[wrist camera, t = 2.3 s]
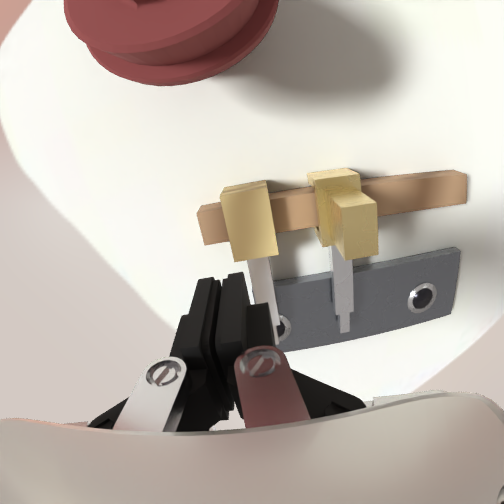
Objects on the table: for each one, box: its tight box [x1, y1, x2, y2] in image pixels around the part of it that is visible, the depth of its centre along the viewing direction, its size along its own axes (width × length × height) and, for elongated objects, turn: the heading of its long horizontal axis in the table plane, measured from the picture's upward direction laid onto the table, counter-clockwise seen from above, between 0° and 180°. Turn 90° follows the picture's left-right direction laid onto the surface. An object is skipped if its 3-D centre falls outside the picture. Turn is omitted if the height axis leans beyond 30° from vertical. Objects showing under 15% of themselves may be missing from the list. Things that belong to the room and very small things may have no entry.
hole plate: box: [252, 247, 461, 352], centre depth 25 cm, size 20×7×1 cm, turn 101°
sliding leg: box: [307, 168, 378, 333], centre depth 20 cm, size 3×13×7 cm, turn 11°
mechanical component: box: [64, 0, 279, 86], centre depth 11 cm, size 12×10×10 cm
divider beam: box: [197, 170, 467, 345], centre depth 22 cm, size 21×13×3 cm, turn 101°
